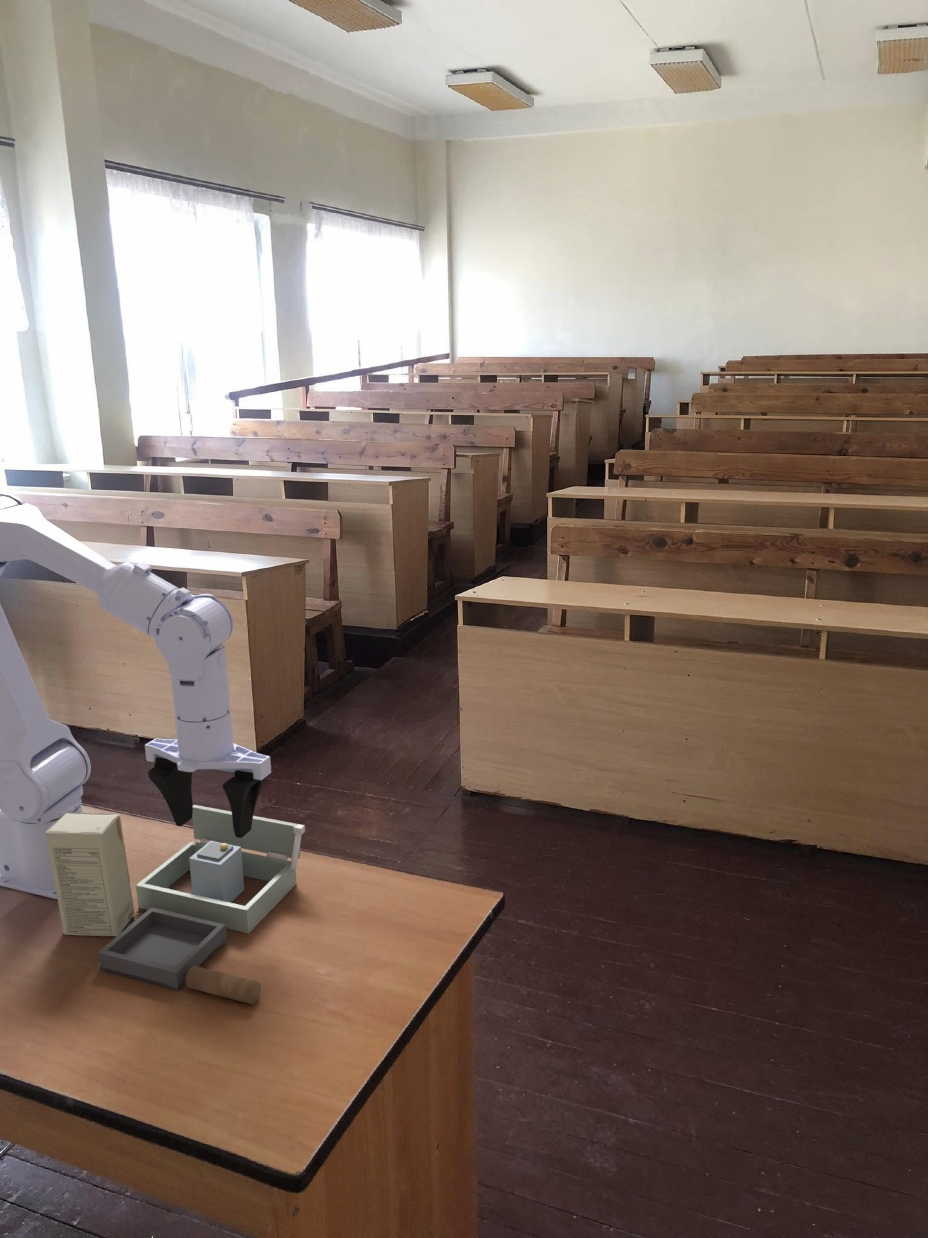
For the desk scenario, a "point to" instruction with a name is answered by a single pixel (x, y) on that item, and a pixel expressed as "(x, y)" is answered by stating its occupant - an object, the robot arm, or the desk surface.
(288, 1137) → the desk surface
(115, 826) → the skincare box
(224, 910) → the equipment case
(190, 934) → the socket
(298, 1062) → the desk surface
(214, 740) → the robot arm
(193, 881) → the block
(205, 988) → the rod
